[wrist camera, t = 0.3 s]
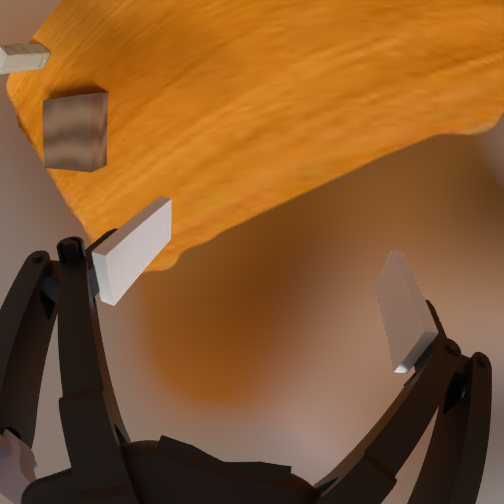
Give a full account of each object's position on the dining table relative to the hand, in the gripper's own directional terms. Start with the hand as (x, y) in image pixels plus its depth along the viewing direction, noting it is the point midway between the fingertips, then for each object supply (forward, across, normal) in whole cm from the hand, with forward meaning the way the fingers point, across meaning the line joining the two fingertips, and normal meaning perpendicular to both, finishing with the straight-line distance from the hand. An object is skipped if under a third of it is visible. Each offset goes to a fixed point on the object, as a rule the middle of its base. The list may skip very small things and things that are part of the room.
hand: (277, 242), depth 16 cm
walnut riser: (+28, -40, 0) cm, 49 cm away
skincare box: (+28, -56, +18) cm, 65 cm away
